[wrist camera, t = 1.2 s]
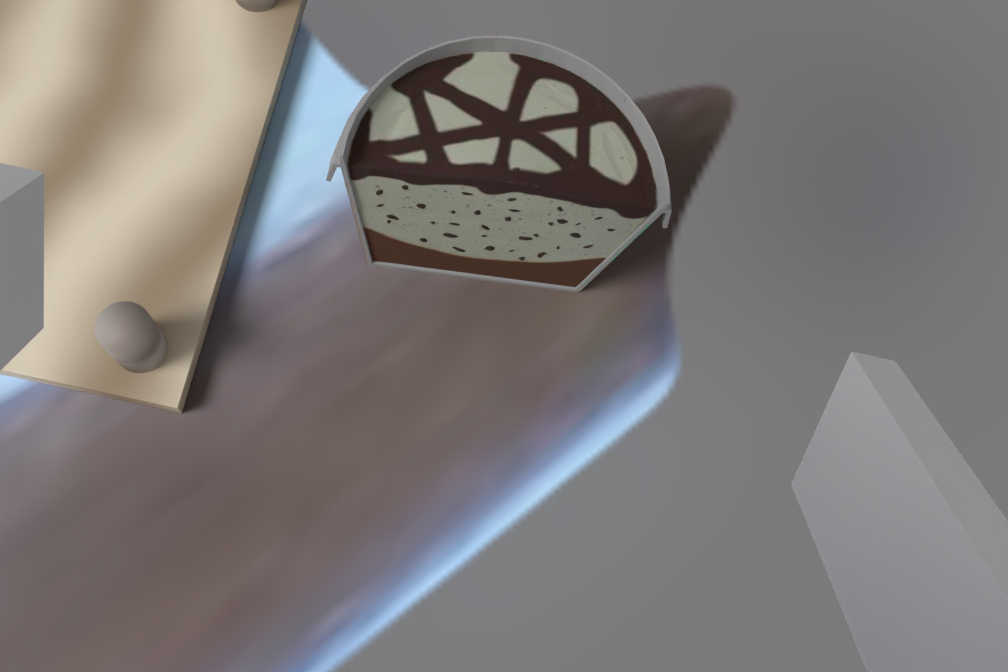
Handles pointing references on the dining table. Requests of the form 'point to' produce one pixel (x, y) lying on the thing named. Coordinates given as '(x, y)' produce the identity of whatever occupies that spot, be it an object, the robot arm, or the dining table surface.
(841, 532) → the robot arm
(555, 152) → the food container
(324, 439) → the dining table surface
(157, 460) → the dining table surface
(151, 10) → the pin plate
